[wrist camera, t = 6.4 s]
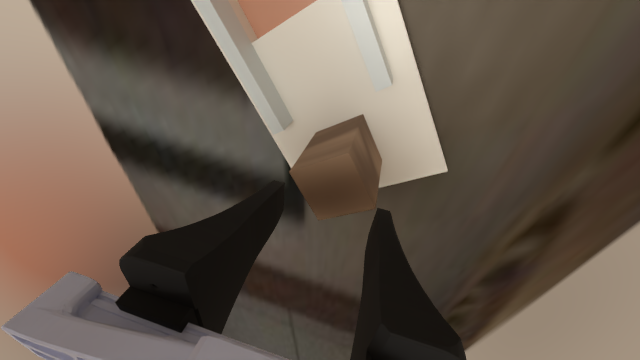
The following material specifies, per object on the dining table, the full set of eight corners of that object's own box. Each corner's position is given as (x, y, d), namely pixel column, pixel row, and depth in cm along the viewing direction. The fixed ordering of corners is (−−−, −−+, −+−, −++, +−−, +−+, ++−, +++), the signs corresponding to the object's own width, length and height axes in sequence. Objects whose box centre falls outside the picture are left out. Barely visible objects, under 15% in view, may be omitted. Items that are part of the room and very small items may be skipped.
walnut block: (315, 132, 20) (289, 172, 16) (363, 114, 19) (348, 152, 14) (336, 173, 22) (318, 220, 17) (382, 159, 20) (375, 208, 15)
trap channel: (186, -31, 18) (146, -37, 15) (343, -184, 12) (325, -238, 10) (316, 194, 26) (306, 217, 23) (445, 161, 21) (451, 186, 18)
